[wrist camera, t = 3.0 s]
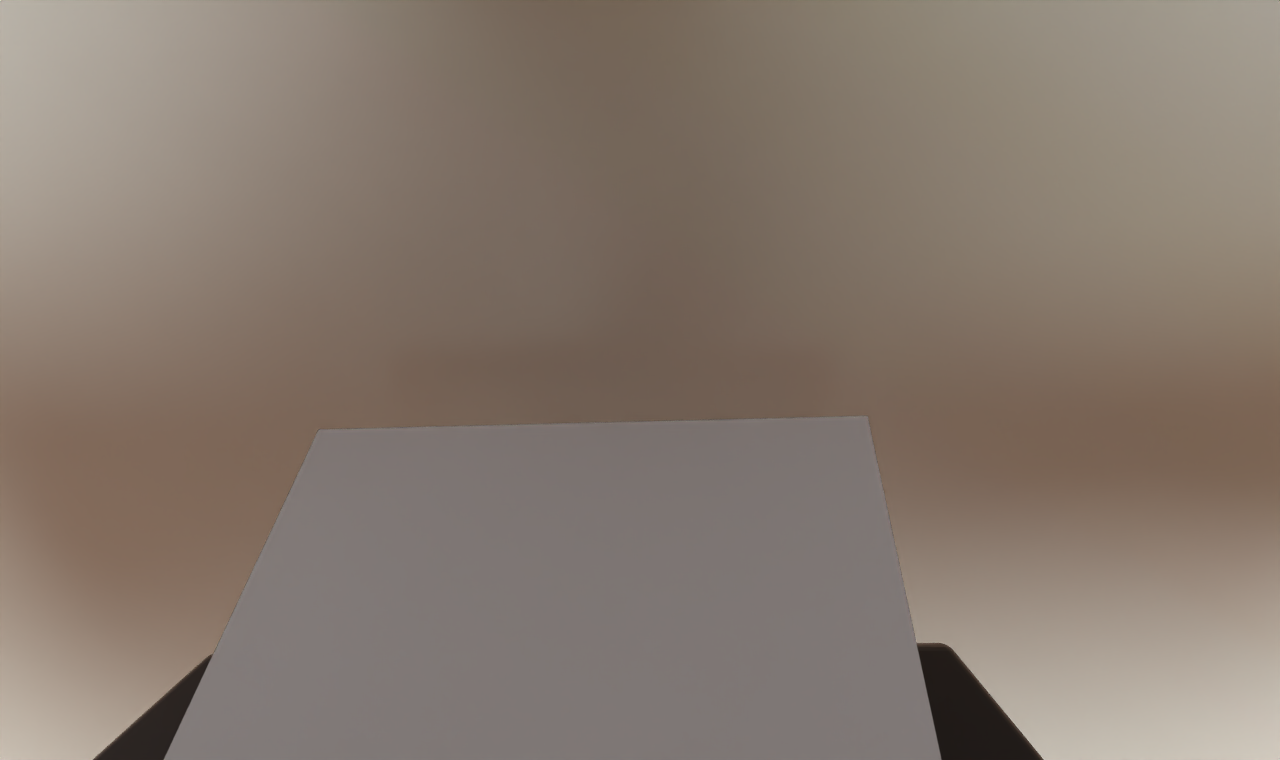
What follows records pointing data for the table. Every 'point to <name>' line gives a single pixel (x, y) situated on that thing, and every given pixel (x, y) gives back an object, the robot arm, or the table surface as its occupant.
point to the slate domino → (574, 601)
